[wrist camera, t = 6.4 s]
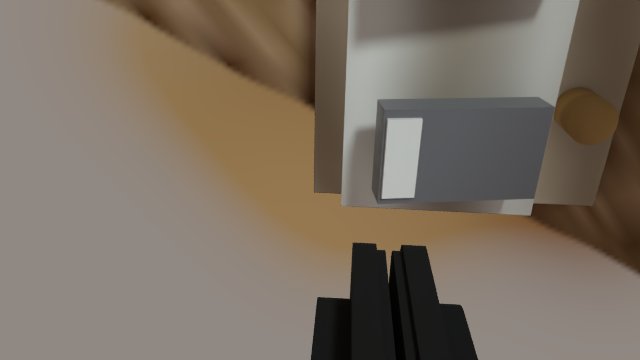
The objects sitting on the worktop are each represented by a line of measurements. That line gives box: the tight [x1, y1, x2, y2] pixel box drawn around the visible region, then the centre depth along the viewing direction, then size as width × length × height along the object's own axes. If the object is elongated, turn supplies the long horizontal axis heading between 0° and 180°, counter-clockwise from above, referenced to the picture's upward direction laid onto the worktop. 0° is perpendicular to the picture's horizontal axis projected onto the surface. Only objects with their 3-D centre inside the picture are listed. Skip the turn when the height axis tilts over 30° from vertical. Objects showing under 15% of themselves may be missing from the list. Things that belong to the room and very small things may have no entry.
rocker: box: [371, 97, 555, 204], centre depth 19 cm, size 6×4×2 cm, turn 89°
